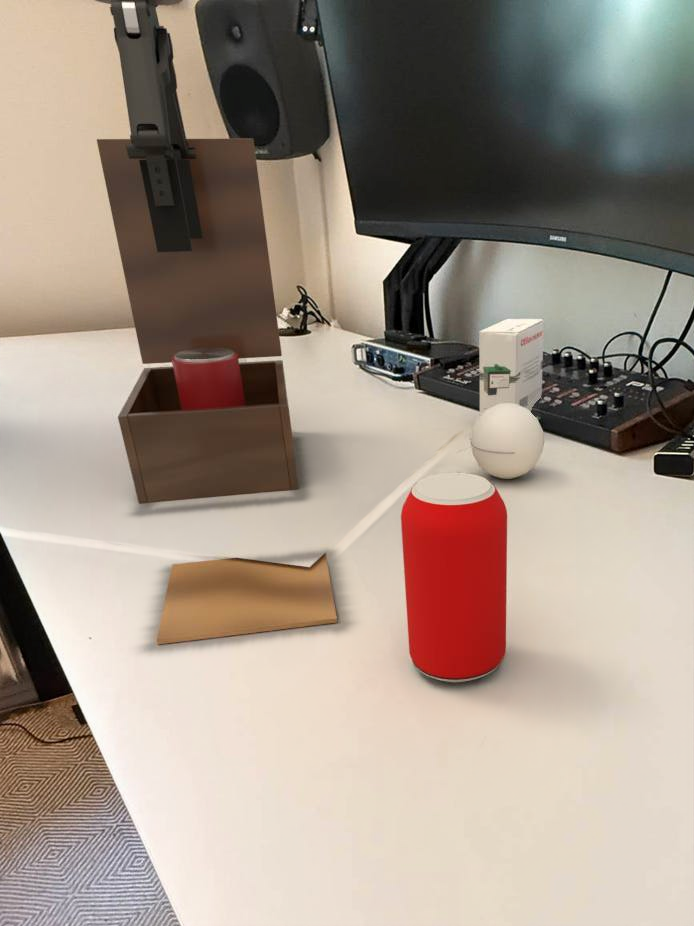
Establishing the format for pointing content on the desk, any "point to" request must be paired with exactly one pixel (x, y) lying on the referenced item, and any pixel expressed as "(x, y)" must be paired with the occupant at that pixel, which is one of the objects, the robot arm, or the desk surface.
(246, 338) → the lid
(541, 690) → the desk surface
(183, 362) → the can
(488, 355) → the ink box
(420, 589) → the beverage can
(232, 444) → the chest
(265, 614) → the mat
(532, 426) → the white ball
